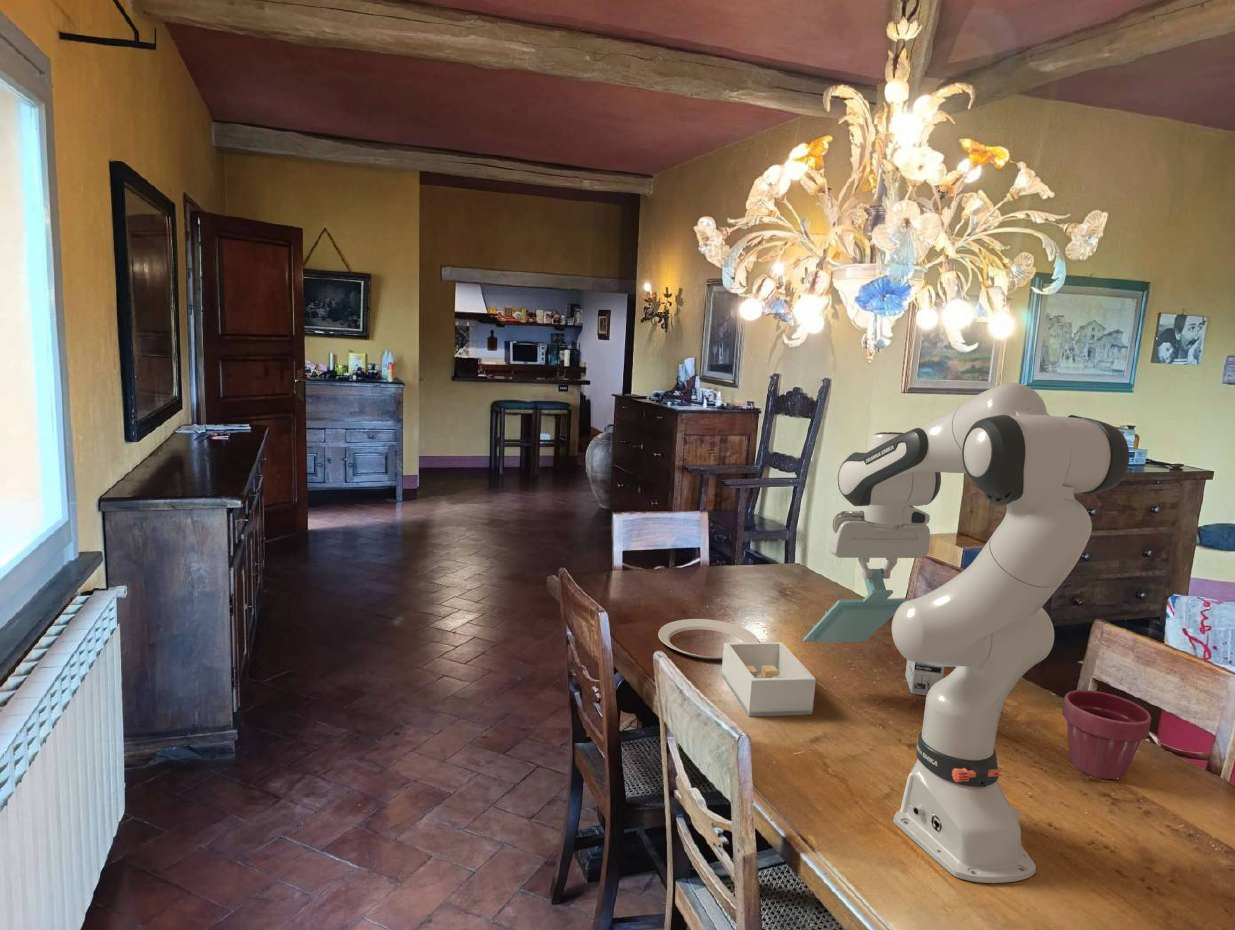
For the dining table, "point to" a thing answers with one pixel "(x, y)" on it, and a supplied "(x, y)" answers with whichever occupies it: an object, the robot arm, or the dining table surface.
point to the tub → (768, 679)
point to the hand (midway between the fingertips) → (875, 577)
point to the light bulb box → (922, 677)
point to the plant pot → (1103, 732)
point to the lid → (857, 615)
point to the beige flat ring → (705, 624)
